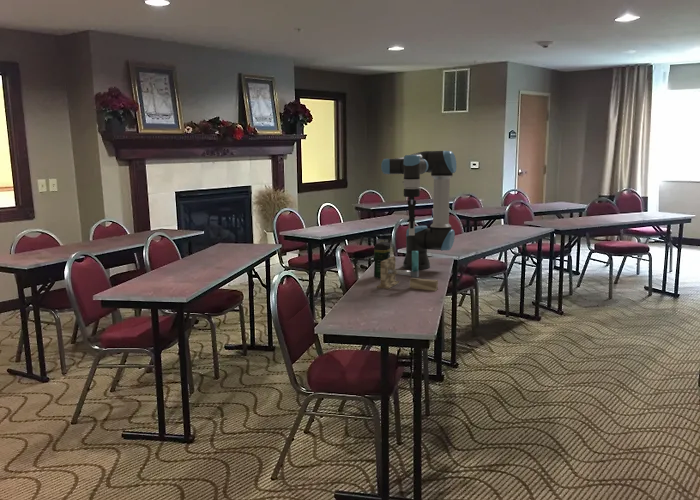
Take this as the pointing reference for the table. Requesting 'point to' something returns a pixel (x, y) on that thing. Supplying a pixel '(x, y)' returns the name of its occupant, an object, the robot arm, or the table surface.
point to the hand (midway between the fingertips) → (411, 233)
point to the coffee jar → (380, 256)
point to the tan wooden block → (386, 278)
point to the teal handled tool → (414, 267)
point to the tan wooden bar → (424, 284)
